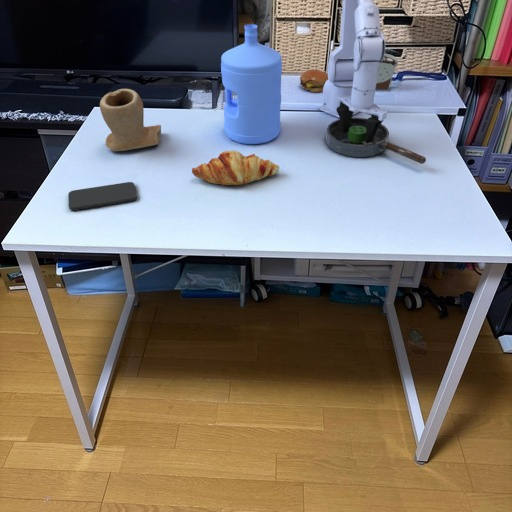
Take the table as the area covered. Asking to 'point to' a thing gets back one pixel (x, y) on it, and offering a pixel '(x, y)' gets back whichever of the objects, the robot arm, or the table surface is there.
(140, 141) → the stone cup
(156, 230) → the table surface
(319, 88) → the burger
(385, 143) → the pan handle
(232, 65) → the water jug
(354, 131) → the green short cylinder
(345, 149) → the pan
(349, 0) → the robot arm
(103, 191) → the phone
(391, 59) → the food container
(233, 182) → the croissant
